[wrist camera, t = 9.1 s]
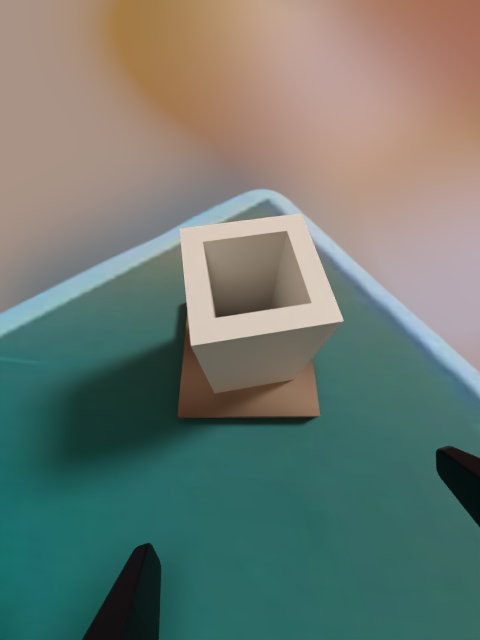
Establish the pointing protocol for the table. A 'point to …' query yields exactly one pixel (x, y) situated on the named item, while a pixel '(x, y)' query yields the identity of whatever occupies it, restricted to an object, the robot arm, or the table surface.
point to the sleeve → (256, 300)
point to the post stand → (244, 394)
